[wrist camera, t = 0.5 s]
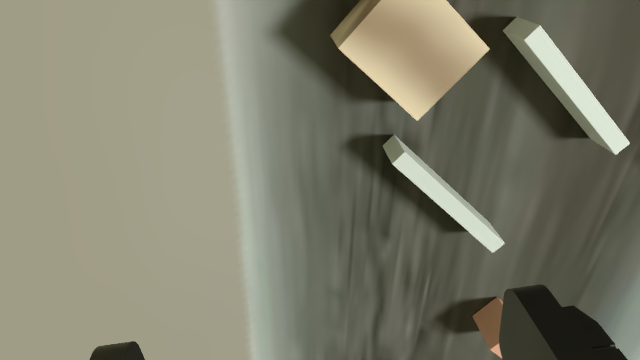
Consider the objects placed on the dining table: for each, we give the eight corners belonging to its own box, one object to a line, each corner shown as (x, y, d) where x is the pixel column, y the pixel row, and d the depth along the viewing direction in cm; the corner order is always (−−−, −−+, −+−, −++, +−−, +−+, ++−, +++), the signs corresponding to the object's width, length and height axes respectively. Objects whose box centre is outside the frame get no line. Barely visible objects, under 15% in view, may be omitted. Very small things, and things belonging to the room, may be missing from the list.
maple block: (395, -41, 29) (413, -37, 26) (464, 35, 32) (489, 49, 28) (329, 34, 31) (338, 48, 27) (401, 100, 33) (417, 120, 30)
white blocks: (516, 17, 31) (540, 25, 29) (603, 127, 36) (630, 143, 33) (382, 146, 35) (391, 163, 32) (477, 231, 40) (492, 253, 37)
